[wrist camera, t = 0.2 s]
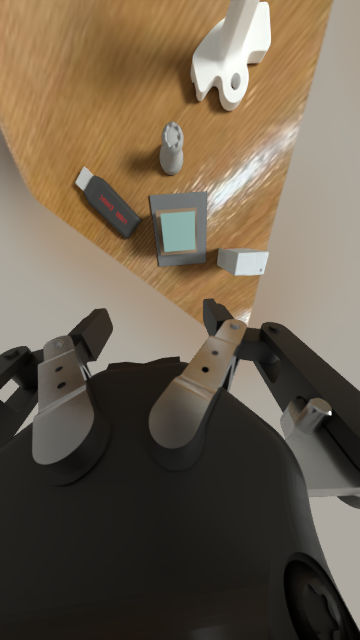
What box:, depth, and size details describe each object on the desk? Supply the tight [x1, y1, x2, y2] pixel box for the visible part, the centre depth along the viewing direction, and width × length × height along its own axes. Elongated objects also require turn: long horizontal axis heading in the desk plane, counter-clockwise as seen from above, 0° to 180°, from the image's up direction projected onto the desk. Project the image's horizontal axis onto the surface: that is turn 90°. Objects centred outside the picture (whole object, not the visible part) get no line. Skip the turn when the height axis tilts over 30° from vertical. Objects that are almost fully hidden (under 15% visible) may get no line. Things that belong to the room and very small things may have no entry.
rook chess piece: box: [160, 122, 183, 175], centre depth 24 cm, size 4×4×8 cm
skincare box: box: [217, 247, 269, 276], centre depth 32 cm, size 6×4×12 cm
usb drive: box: [75, 167, 142, 239], centre depth 29 cm, size 5×12×3 cm, turn 45°
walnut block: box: [155, 207, 197, 255], centre depth 32 cm, size 8×8×4 cm
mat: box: [150, 191, 207, 267], centre depth 33 cm, size 14×12×1 cm
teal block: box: [160, 211, 195, 252], centre depth 28 cm, size 6×6×4 cm
